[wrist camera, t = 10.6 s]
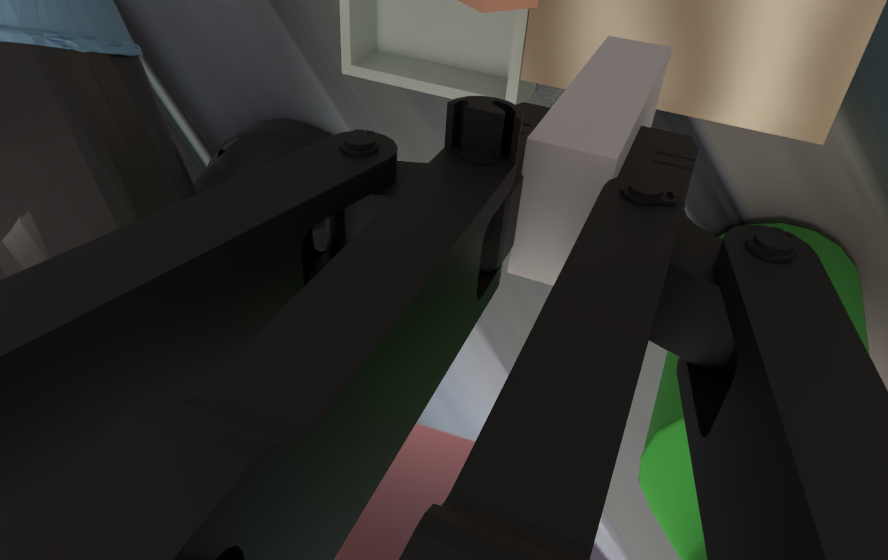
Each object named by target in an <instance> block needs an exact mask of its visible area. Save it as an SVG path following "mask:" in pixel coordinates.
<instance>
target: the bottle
mask: <svg viewBox="0 0 888 560" xmlns="http://www.w3.org/2000/svg"><path fill="white" fill-rule="evenodd" d="M750 225H763V226H768V227H777V228H780V229H783V230H784V231H785V232H786V231H788V232H790V233H792V234H794V235H796V236H797V237H798V238H800V239H801V240H803V241H804V242H806V243H807V244H809V245H810V246H811V247H812V249H813V250H814V251H815V252H816V253H817V255H818V256H819V258H820V260H821V262H822V264H823V266H824V268H825V270H826V272H827V274H828V276H829V278H830V280H831V282H832V284H833V286H834V288H835V289H836V291H837V293H838V295H839V297H840V299H841V301H842V303H843V305H844V307H845V309H846V311H847V313H848V315H849V317H850V319H851V321H852V323H853V325H854V327H855V329H856V331H857V332H858V334H859V336H860V338H861V340H862V342H863V344H864V346H865V348H866V350H867V352H868V354H869V349H868V340H867V331H866V322H865V314H864V305H863V296H862V290H861V285H860V280H859V275H858V270H857V268H856V267H855V265H854V264H853V263H852V261H851V260H850V259H849V257H848V256H847V255H846V253H845V252H844V251H843V249H842V248H841V247H840V246H838V245H837V244H835V243H833V242H832V241H830V240H829V239H827V238H825V237H824V236H822V235H821V234H819V233H817V232H816V231H813V230H809V229H805V228H801V227H797V226H793V225H789V224H785V223H771V224H750ZM724 235H725V233H723V234H722V235H720V236H719V238H721V239H723V238H724ZM678 359H679V357H678V356H677V355H675V354H673V353H671V352H669V351H668V352H667V356H666V360H665V364H664V368H663V372H662V377H661V381H660V385H659V389H658V393H657V397H656V402H655V406H654V410H653V414H652V418H651V422H650V426H649V431H648V435H647V439H646V443H645V447H644V451H643V454H642V456H641V463H640V473H639V482H640V485H641V487H642V490H643V492H644V495H645V497H646V500H647V502H648V505H649V507H650V509H651V511H652V512H653V514H654V516H655V517H656V519H657V521H658V523H659V524H660V526H661V528H662V529H663V531H664V533H665V534H666V536H667V538H668V539H669V541H670V543H671V544H672V546H673V548H674V549H675V551H676V553H677V554H678V556H679V558H680V559H681V560H707V554H706V548H705V542H704V536H703V530H702V524H701V518H700V512H699V506H698V500H697V494H696V488H695V482H694V476H693V470H692V464H691V458H690V452H689V445H688V439H687V433H686V427H685V421H684V415H683V409H682V403H681V397H680V391H679V385H678V379H677V373H676V369H677V361H678Z"/></svg>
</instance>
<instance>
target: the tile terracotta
mask: <svg viewBox="0 0 888 560" xmlns="http://www.w3.org/2000/svg"><path fill="white" fill-rule="evenodd" d="M458 1H460V2H462V3H464V4H466V5H468V6H470V7H472V8H474V9H476V10H478V11H480V12H482V13H490V12H499V11H509V10H518V9H527V8H537V7H538V2H539V0H458Z"/></svg>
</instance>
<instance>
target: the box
mask: <svg viewBox="0 0 888 560" xmlns="http://www.w3.org/2000/svg"><path fill="white" fill-rule="evenodd" d="M529 9H530V8H527V9H518V10H509V11H499V12H490V13H482V12H480V11H478V10H476V9H474V8H472V7H470V6H468V5H466V4H464V3H462V2H460V1H458V0H340V31H341V62H342V74H346V75H350V76H354V77H359V78H363V79H367V80H372V81H376V82H380V83H385V84H389V85H393V86H398V87H402V88H406V89H411V90H415V91H419V92H424V93H428V94H432V95H437V96H441V97H445V98H450V99H456V98H460V97H465V96H488V97H495V98H500V99H503V100H506V101H509V102H511V103H513V104H515V105H516V104H519V103H522V102H526V101H527V100H528V99H529V98H530V97H531V96H532V95H533V94H534V93H535V89H536V83H532V82H528V81H523V80H520V77H521V70H522V62H523V55H524V47H525V40H526V32H527V25H528V17H529Z"/></svg>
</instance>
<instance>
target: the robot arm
mask: <svg viewBox="0 0 888 560" xmlns="http://www.w3.org/2000/svg"><path fill="white" fill-rule="evenodd" d="M671 50H672V47H669V46H663V45H658V44H652V43H647V42H641V41H635V40H630V39H624V38H619V37H613V36H608V37H607V38H606V39H605V41H604V42H603V43H602V44H601V46H600V47H599V48H598V49H597V51H596V52H595V53H594V55H593V56H592V57H591V58H590V60H589V61H588V62H587V63H586V65H585V66H584V67H583V68H582V70H581V71H580V72H579V73H578V75H577V76H576V77H575V78H574V80H573V81H572V82H571V83H570V85H569V86H568V87H567V89H566V90H565V91H564V92H563V94H562V95H561V96H560V97H559V99H558V100H557V101H556V102H555V104H554V105H553V106H552V107H551V108H548V107H544V106H539V105H534V104H530V103H525V102H522V103H519V104H516V105H515V104H513V103H511V102H509V101H506V100H503V99H500V98H495V97H488V96H465V97H460V98H456V99H454V100H452V101H450V102H448V105H447V120H446V135H445V147H444V148H443V149H442V150H441V151H440V152H439V153H438V154H437V155H436V156H435V157H434V158H433V159H432V160H431V161H430V162H429V163H416V162H403V161H397V145H396V144H395V142H394V141H393V140H392V139H390V138H388V137H387V136H385V135H382V134H378V133H375V132H374V131H369V130H366V131H364V130H354V131H351V132H343V133H339V134H336V135H332V136H331V135H330V134H328V133H326V132H324V131H323V130H321V129H318V128H316V127H314V126H311V125H309V124H306V123H302V122H298V121H294V120H287V119H273V120H266V121H262V122H259V123H256V124H254V125H252V126H250V127H248V128H246V129H245V130H243V131H241V132H240V133H238V134H236V135H234V136H233V137H231V138H230V139H228V140H227V141H226V142H225V143H224V144H223V145H222V146H221V147H220V148H219V149H218V150H217V151H216V153H215V154H214V156H213V157H212V159H211V160H210V162H209V164H208V167H207V169H206V171H205V172H203V173H202V175H201V176H200V177H199V178H198V179H197V181H196V182H195V183H194V185H193V182H192V180H191V178H190V176H189V173H188V171H187V169H186V166H185V164H184V162H183V160H182V157H181V155H180V153H179V151H178V148H177V146H176V144H175V141H174V139H173V137H172V134H171V132H170V130H169V127H168V125H167V122H166V120H165V118H164V115H163V113H162V110H161V108H160V106H159V103H158V101H157V98H156V96H155V94H154V91H153V89H152V86H151V84H150V82H149V79H148V77H147V74H146V72H145V69H144V67H143V65H142V62H141V60H140V57H139V56H143V53H142V50H141V48H140V46H139V45H137V44H135V43H134V42H133V40H132V38H131V36H130V34H129V32H128V30H127V28H126V26H125V24H124V22H123V19H122V17H121V15H120V13H119V11H118V9H117V7H116V5H115V3H114V1H113V0H0V560H334V558H335V557H336V555H337V553H338V551H339V550H340V548H341V546H342V545H343V543H344V541H345V540H346V538H347V537H348V535H349V533H350V531H351V530H352V528H353V526H354V525H355V523H356V522H357V520H358V518H359V517H360V515H361V513H362V511H363V510H364V508H365V507H366V505H367V503H368V502H369V500H370V498H371V497H372V495H373V493H374V492H375V490H376V488H377V487H378V485H379V483H380V482H381V480H382V478H383V477H384V475H385V474H386V472H387V470H388V468H389V467H390V465H391V464H392V462H393V460H394V459H395V457H396V455H397V454H398V452H399V450H400V449H401V447H402V445H403V444H404V442H405V440H406V438H407V437H408V435H409V434H410V432H411V430H412V429H413V427H414V425H415V424H416V422H417V420H418V419H419V417H420V415H421V414H422V412H423V411H424V409H425V407H426V406H427V404H428V402H429V401H430V399H431V397H432V396H433V394H434V392H435V391H436V389H437V387H438V386H439V384H440V382H441V381H442V379H443V377H444V376H445V374H446V372H447V371H448V369H449V367H450V366H451V364H452V362H453V361H454V359H455V357H456V356H457V354H458V352H459V351H460V349H461V347H462V346H463V344H464V342H465V341H466V339H467V337H468V336H469V334H470V333H471V331H472V329H473V328H474V326H475V324H476V323H477V321H478V319H479V318H480V316H481V314H482V313H483V311H484V309H485V308H486V306H487V304H488V303H489V301H490V299H491V298H492V296H493V294H494V293H495V291H496V289H497V288H498V286H499V281H500V276H501V269H502V262H503V261H504V259H505V258H506V256H507V255H508V253H509V251H510V256H509V263H508V270H507V273H511V274H514V275H517V276H521V277H524V278H528V279H531V280H535V281H538V282H541V283H545V284H548V285H552V286H553V288H552V290H551V292H550V294H549V296H548V298H547V300H546V302H545V304H544V306H543V308H542V310H541V312H540V314H539V316H538V318H537V320H536V322H535V324H534V326H533V328H532V330H531V332H530V334H529V336H528V338H527V340H526V342H525V344H524V346H523V348H522V350H521V352H520V354H519V356H518V358H517V360H516V362H515V364H514V366H513V368H512V370H511V372H510V374H509V376H508V378H507V380H506V382H505V384H504V386H503V388H502V390H501V392H500V394H499V396H498V398H497V400H496V402H495V404H494V406H493V408H492V410H491V412H490V414H489V416H488V418H487V420H486V422H485V424H484V426H483V428H482V430H481V432H480V434H479V436H478V438H477V440H476V442H475V444H474V446H473V448H472V450H471V452H470V454H469V456H468V458H467V460H466V462H465V464H464V466H463V468H462V470H461V472H460V474H459V476H458V478H457V480H456V482H455V484H454V486H453V488H452V490H451V492H450V494H449V495H448V497H447V499H446V501H445V502H444V503H443V504H442V505H441V506H440V505H436V504H433V505H432V506H431V507H430V508H429V509H428V510H427V511H426V512H425V513H424V515H423V517H422V519H421V520H420V522H419V524H418V525H417V527H416V529H415V530H414V532H413V534H412V536H411V538H410V540H409V542H408V544H407V546H406V547H405V549H404V551H403V553H402V555H401V557H400V559H399V560H590V555H591V552H592V548H593V544H594V541H595V537H596V533H597V530H598V526H599V522H600V519H601V515H602V511H603V507H604V504H605V500H606V496H607V493H608V489H609V485H610V481H611V478H612V474H613V470H614V467H615V463H616V459H617V456H618V452H619V448H620V444H621V441H622V437H623V433H624V430H625V426H626V422H627V418H628V415H629V411H630V407H631V404H632V400H633V396H634V393H635V389H636V385H637V381H638V378H639V374H640V370H641V367H642V363H643V359H644V356H645V352H646V348H647V344H648V341H649V340H650V341H651V342H653V343H655V344H657V345H659V346H660V347H662V348H664V349H666V350H668V351H669V352H671V353H673V354H675V355H677V356H678V357H679V359H678V361H677V369H676V373H677V379H678V385H679V391H680V397H681V403H682V409H683V415H684V421H685V427H686V433H687V439H688V445H689V452H690V458H691V464H692V470H693V476H694V482H695V488H696V494H697V500H698V506H699V512H700V518H701V524H702V530H703V536H704V542H705V548H706V554H707V560H888V391H887V389H886V387H885V385H884V383H883V381H882V379H881V377H880V375H879V373H878V372H877V370H876V368H875V366H874V364H873V362H872V360H871V358H870V356H869V354H868V352H867V350H866V348H865V346H864V344H863V342H862V340H861V338H860V336H859V334H858V332H857V331H856V329H855V327H854V325H853V323H852V321H851V319H850V317H849V315H848V313H847V311H846V309H845V307H844V305H843V303H842V301H841V299H840V297H839V295H838V293H837V291H836V289H835V288H834V286H833V284H832V282H831V280H830V278H829V276H828V274H827V272H826V270H825V268H824V266H823V264H822V262H821V260H820V258H819V256H818V255H817V253H816V252H815V251H814V250H813V249H812V247H811V246H810V245H809V244H807V243H806V242H804V241H803V240H801V239H800V238H798V237H797V236H796V235H794V234H792V233H790V232H788V231H786V232H785V231H784V230H783V229H780V228H777V227H768V226H763V225H746V224H745V225H741V226H736V227H732V228H731V229H730V230H729V231H728V232H726V233H725V235H724V238H723V239H721V238H719V237H717V236H715V235H713V234H711V233H709V232H707V231H705V230H703V229H701V228H700V227H698V226H697V225H696V224H694V223H693V222H692V221H691V220H690V219H689V218H688V217H687V215H686V213H685V211H684V207H685V198H686V194H687V190H688V187H689V183H690V179H691V175H692V172H693V168H694V164H695V160H696V157H697V153H698V149H699V148H698V147H697V145H696V144H695V142H694V141H693V139H692V137H691V136H687V135H683V134H678V133H673V132H669V131H664V130H659V129H655V128H651V126H652V122H653V118H654V114H655V111H656V107H657V103H658V99H659V95H660V92H661V88H662V84H663V80H664V77H665V73H666V69H667V65H668V61H669V58H670V54H671Z"/></svg>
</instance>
